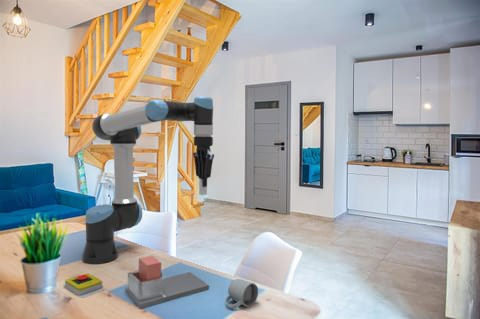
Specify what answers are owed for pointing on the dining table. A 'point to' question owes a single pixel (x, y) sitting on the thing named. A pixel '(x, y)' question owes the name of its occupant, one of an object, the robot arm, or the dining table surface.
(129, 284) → the grey box holder bracket
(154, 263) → the pink box with dome
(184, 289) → the stand board
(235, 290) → the ceramic mug
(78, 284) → the emergency button
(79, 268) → the dining table surface
